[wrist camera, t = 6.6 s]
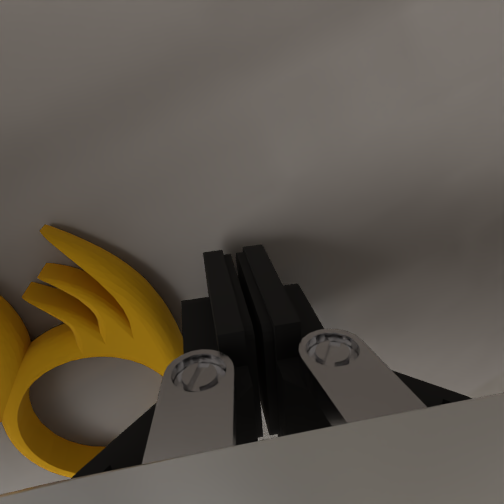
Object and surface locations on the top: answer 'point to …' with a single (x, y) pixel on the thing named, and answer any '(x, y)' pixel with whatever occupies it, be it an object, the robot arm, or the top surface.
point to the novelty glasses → (78, 339)
